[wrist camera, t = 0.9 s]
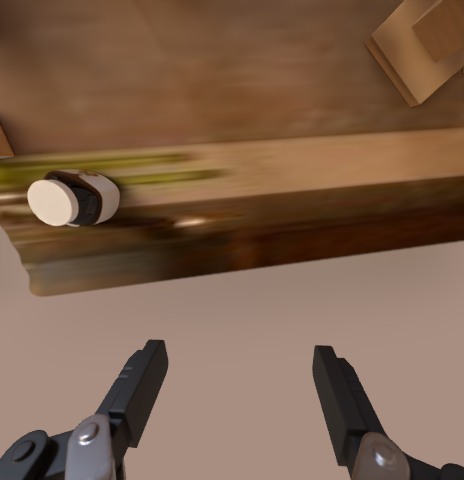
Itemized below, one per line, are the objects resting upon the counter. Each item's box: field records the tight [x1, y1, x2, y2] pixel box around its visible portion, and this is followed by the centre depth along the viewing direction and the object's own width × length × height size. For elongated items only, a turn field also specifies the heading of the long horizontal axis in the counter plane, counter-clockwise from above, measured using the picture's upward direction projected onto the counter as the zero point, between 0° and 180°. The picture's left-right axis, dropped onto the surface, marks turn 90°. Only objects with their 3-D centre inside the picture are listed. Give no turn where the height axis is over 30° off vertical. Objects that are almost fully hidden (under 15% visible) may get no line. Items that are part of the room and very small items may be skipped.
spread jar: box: [28, 169, 120, 227], centre depth 38 cm, size 12×11×12 cm
